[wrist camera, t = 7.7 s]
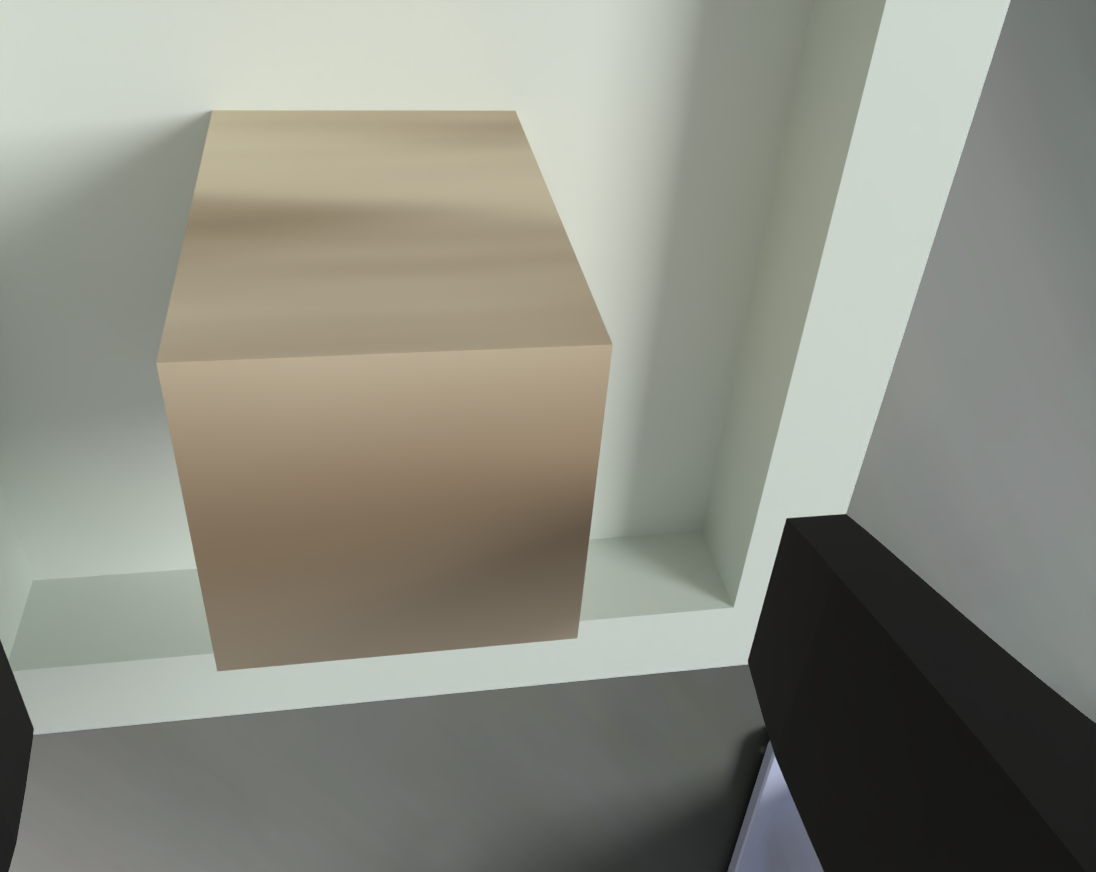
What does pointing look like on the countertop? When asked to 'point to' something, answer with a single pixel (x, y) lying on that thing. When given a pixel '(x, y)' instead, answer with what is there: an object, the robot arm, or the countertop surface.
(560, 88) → the tray
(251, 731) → the countertop surface
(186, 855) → the countertop surface
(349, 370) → the maple block
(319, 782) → the countertop surface
